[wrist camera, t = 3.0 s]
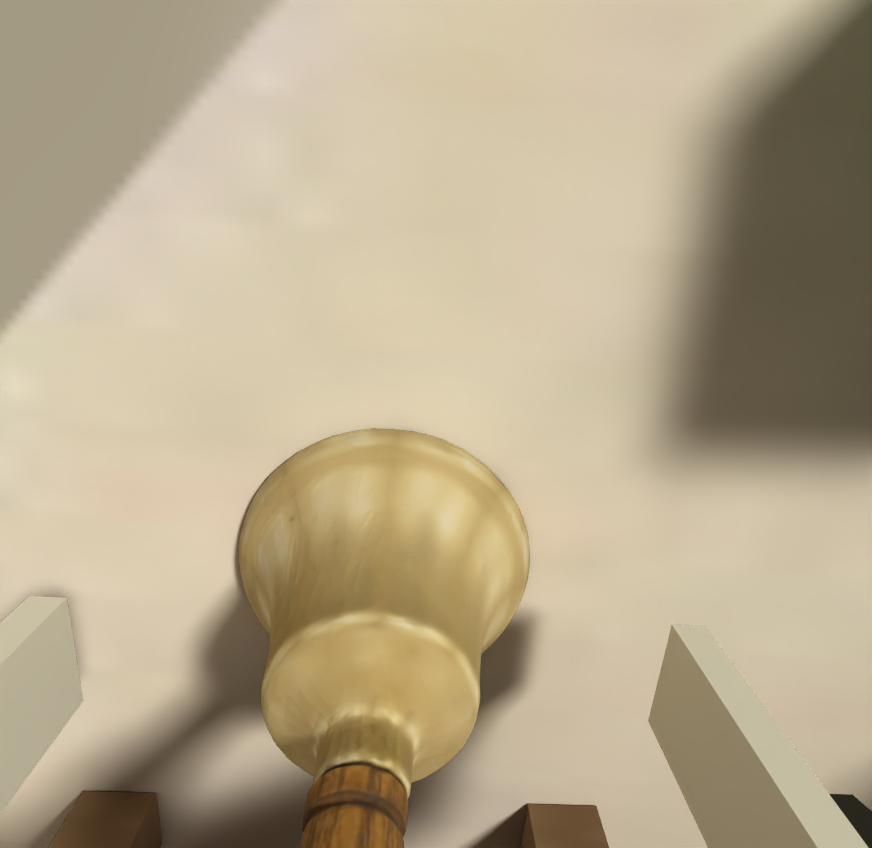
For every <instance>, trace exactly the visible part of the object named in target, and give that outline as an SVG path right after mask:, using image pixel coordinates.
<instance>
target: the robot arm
mask: <svg viewBox="0 0 872 848" xmlns="http://www.w3.org/2000/svg"><path fill="white" fill-rule="evenodd" d="M82 702H83V695H82V689H81V683H80V677H79V671H78V664H77V658H76V652H75V646H74V640H73V633H72V627H71V621H70V615H69V609H68V602H67V598H62V597H39V596H29V597H28V598H27V599H26V600H25V601H24V602H22V603H21V604H20V605H19V606H18V607H17V608H16V609H15V610H14V611H13V612H11V613H10V614H9V615H8V616H7V617H6V618H5V619H4V620H3V621H2V622H0V814H1V812H2V811H3V810H4V808H5V807H6V806H7V804H8V803H9V801H10V800H11V799H12V797H13V796H14V795H15V793H16V792H17V790H18V789H19V788H20V786H21V785H22V784H23V782H24V781H25V780H26V778H27V777H28V775H29V774H30V773H31V771H32V770H33V769H34V767H35V766H36V765H37V763H38V762H39V760H40V759H41V758H42V756H43V755H44V754H45V752H46V751H47V750H48V748H49V747H50V745H51V744H52V743H53V741H54V740H55V739H56V737H57V736H58V735H59V733H60V732H61V730H62V729H63V728H64V726H65V725H66V724H67V722H68V721H69V719H70V718H71V717H72V715H73V714H74V713H75V711H76V710H77V709H78V707H79V706H80V704H81V703H82ZM648 721H649V723H650V725H651V728H652V730H653V732H654V734H655V736H656V738H657V740H658V742H659V745H660V747H661V749H662V751H663V753H664V755H665V757H666V759H667V761H668V764H669V766H670V768H671V770H672V772H673V774H674V776H675V778H676V781H677V783H678V785H679V787H680V789H681V791H682V793H683V795H684V798H685V800H686V802H687V804H688V806H689V808H690V810H691V812H692V814H693V817H694V819H695V821H696V823H697V825H698V827H699V829H700V831H701V834H702V836H703V838H704V840H705V842H706V844H707V846H708V848H872V811H871V810H869V809H868V808H867V807H866V806H865V805H864V804H862V803H861V802H860V801H859V800H858V799H857V798H855V797H854V796H853V795H843V794H829V793H828V792H827V790H826V789H825V788H824V786H823V785H822V784H821V782H820V781H819V780H818V778H817V777H816V776H815V774H814V773H813V771H812V770H811V769H810V767H809V766H808V765H807V763H806V762H805V761H804V759H803V758H802V756H801V755H800V754H799V752H798V751H797V750H796V748H795V747H794V746H793V744H792V743H791V742H790V740H789V739H788V737H787V736H786V735H785V733H784V732H783V731H782V729H781V728H780V727H779V725H778V724H777V723H776V721H775V720H774V718H773V717H772V716H771V714H770V713H769V712H768V710H767V709H766V708H765V706H764V705H763V703H762V702H761V701H760V699H759V698H758V697H757V695H756V694H755V693H754V691H753V690H752V689H751V687H750V686H749V684H748V683H747V682H746V680H745V679H744V678H743V676H742V675H741V674H740V672H739V671H738V669H737V668H736V667H735V665H734V664H733V663H732V661H731V660H730V659H729V657H728V656H727V655H726V653H725V652H724V650H723V649H722V648H721V646H720V645H719V644H718V642H717V641H716V640H715V638H714V637H713V635H712V634H711V633H710V631H709V630H708V629H707V627H706V626H696V625H674V624H672V626H671V630H670V635H669V639H668V643H667V647H666V651H665V655H664V659H663V663H662V667H661V671H660V675H659V679H658V683H657V687H656V691H655V695H654V700H653V704H652V708H651V712H650V716H649V720H648Z"/></svg>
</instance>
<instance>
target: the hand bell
mask: <svg viewBox="0 0 872 848" xmlns="http://www.w3.org/2000/svg"><path fill="white" fill-rule="evenodd" d="M529 565H530V548H529V539H528V533H527V530H526V526H525V523H524V519H523V516H522V514H521V511H520V509H519V507H518V505H517V503H516V502H515V500H514V498H513V497H512V495H511V494H510V492H509V491H508V489H507V488H506V487H505V485H504V484H503V483H502V482H501V481H500V480H499V479H498V477H497V476H496V475H495V474H494V473H493V472H492V471H491V470H490V469H489V468H488V467H487V466H486V465H485V464H483V463H482V462H480V461H479V460H478V459H476V458H475V457H474V456H473V455H471V454H470V453H468V452H467V451H465V450H463V449H461V448H459V447H456V446H455V445H453V444H451V443H449V442H447V441H445V440H442V439H439V438H437V437H434V436H431V435H426V434H422V433H418V432H413V431H405V430H394V429H376V428H373V429H365V430H358V431H352V432H347V433H343V434H340V435H336V436H332V437H329V438H326V439H324V440H321V441H319V442H317V443H315V444H312V445H310V446H309V447H307V448H305V449H303V450H301V451H299V452H298V453H296V454H295V455H293V456H292V457H291V458H289V459H288V460H287V461H285V462H284V463H283V464H282V465H281V466H279V467H278V468H277V469H276V470H275V471H274V472H273V473H272V474H271V475H270V476H269V477H268V478H267V479H266V481H265V482H264V484H263V485H262V486H261V488H260V489H259V490H258V491H257V493H256V495H255V496H254V498H253V500H252V502H251V504H250V506H249V508H248V511H247V513H246V516H245V519H244V522H243V526H242V530H241V535H240V541H239V567H240V573H241V578H242V582H243V586H244V589H245V593H246V596H247V598H248V600H249V603H250V605H251V607H252V609H253V611H254V613H255V614H256V616H257V618H258V619H259V621H260V623H261V624H262V626H263V627H264V629H265V630H266V631H267V632H268V634H269V635H270V644H269V650H268V657H267V663H266V667H265V672H264V677H263V681H262V688H261V706H262V712H263V716H264V720H265V722H266V725H267V728H268V730H269V732H270V734H271V736H272V738H273V740H274V742H275V743H276V745H277V746H278V747H279V748H280V750H281V751H282V752H283V753H284V754H285V755H286V757H287V758H288V759H289V760H291V761H292V762H293V763H294V764H296V765H297V766H299V767H300V768H301V769H303V770H304V771H306V772H307V773H309V774H311V775H313V776H314V784H313V786H312V787H311V789H310V791H309V793H308V795H307V799H306V803H305V809H304V816H303V832H304V833H303V837H302V839H301V842H300V845H299V848H404V841H403V836H404V834H405V831H406V825H407V817H408V798H409V796H410V790H411V783H412V782H415V781H418V780H421V779H423V778H425V777H427V776H428V775H430V774H432V773H433V772H435V771H437V770H438V769H440V768H441V767H443V766H444V765H445V764H447V763H448V762H449V761H450V760H451V759H452V758H453V757H454V756H455V755H456V754H457V753H458V752H459V751H460V749H461V748H462V747H463V746H464V744H465V743H466V741H467V739H468V737H469V735H470V734H471V732H472V730H473V728H474V725H475V722H476V719H477V714H478V709H479V703H480V665H481V653H483V652H484V651H485V650H486V649H487V648H488V647H489V646H490V645H491V644H492V643H493V642H494V641H495V640H496V639H497V638H498V637H499V636H500V635H501V634H502V632H503V631H504V629H505V628H506V627H507V625H508V624H509V622H510V621H511V619H512V617H513V615H514V614H515V612H516V610H517V608H518V606H519V603H520V601H521V599H522V596H523V593H524V590H525V587H526V583H527V580H528V574H529Z"/></svg>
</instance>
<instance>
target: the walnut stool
mask: <svg viewBox="0 0 872 848" xmlns="http://www.w3.org/2000/svg"><path fill="white" fill-rule="evenodd" d="M161 845H162V839H161V831H160V822H159V814H158V805H157V797H156V793H131V792H97V791H82V793H81V795H80V796H79V798H78V799H77V801H76V803H75V804H74V806H73V808H72V809H71V811H70V812H69V814H68V816H67V817H66V819H65V821H64V822H63V824H62V826H61V827H60V829H59V830H58V832H57V834H56V835H55V837H54V839H53V840H52V842H51V843H50V845H49V847H48V848H161ZM521 848H609V846H608V843H607V840H606V836H605V833H604V830H603V827H602V823H601V820H600V817H599V814H598V810H597V807H596V806H579V805H545V804H528V806H527V812H526V818H525V824H524V830H523V836H522V842H521Z"/></svg>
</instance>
